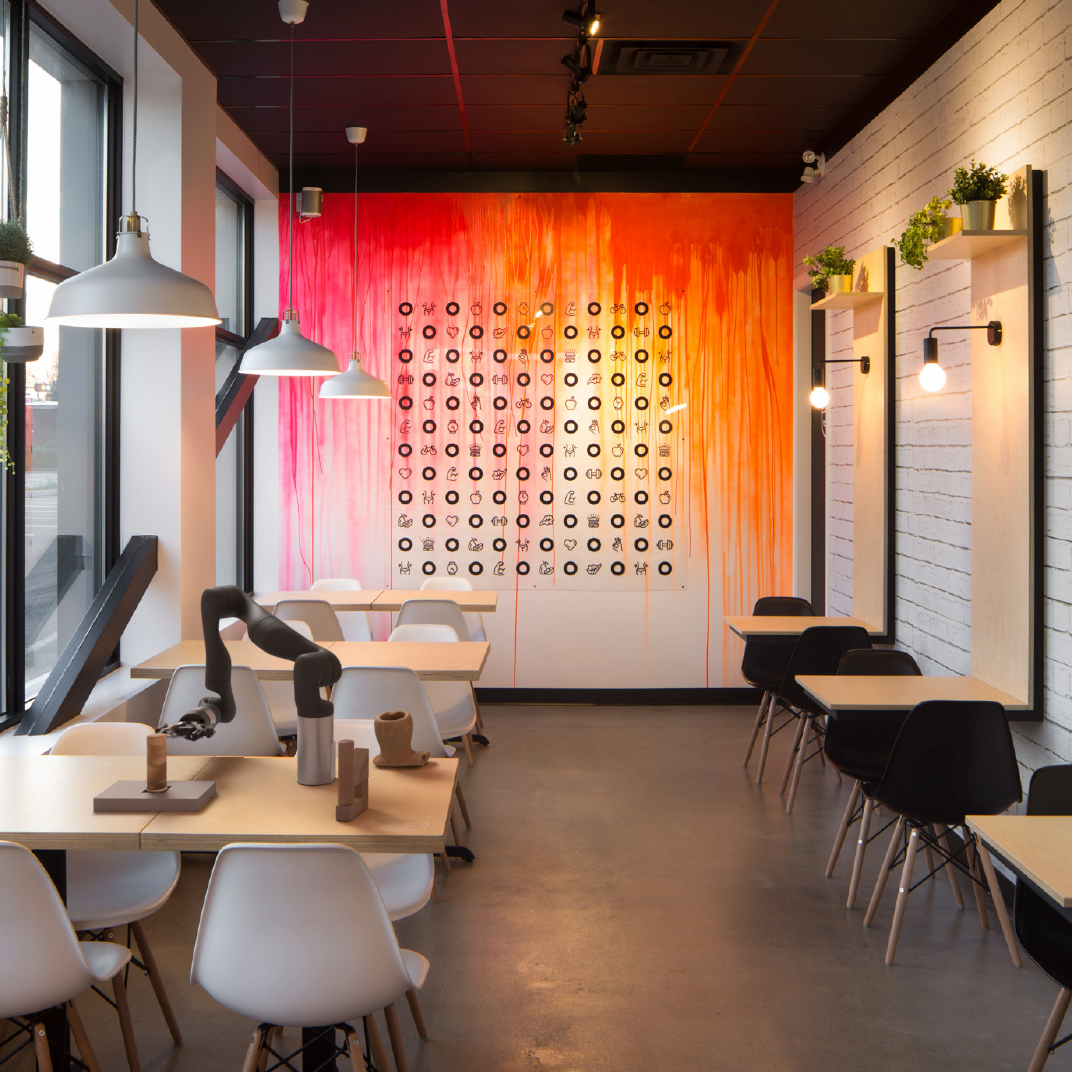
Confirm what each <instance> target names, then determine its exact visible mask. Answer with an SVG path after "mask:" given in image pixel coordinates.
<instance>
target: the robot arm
mask: <svg viewBox="0 0 1072 1072" xmlns="http://www.w3.org/2000/svg"><path fill="white" fill-rule="evenodd" d="M200 614H201V622H202V623H201V625H202V633H203V640H204V641H203V642H204V648H205V649H204V650H205V671H204V673H205V674H204V675H205V676H204V686H205V688H206V690H208V691H209V692H213V693H216V694H217V695H219V697H216V696H205V697H203V698H201V699H200V700H199V702H198V705H197V707H195V708H193V709H191V710H189V711H188V712H186V713H185V714H183V715H182V716H181V717H180V718H179V720H178V722H177V723H174V724H168V723H162V724H161V725H159V726H157V727H155V728H154V734H155V733H164V734H166V739H171V740H174V739H178V738H181V739H185V740H187V741H190V742H193V743H195V742H197V741H198V740H202V739H204V737H205V738H206V739H211V738H212V737H213V736H214V735H215V734H216V732H217V727H216V726H217V725H219V723H220V724H228V723H229V724H230V723H231V722H232V721H233V720H234V719H235V717H236V714H237V704H236V700H235V697H234V693H233V688H232V670H233V669H232V668H233V666H232V658H231V654H230V652H229V650H228V649H227V646H226V645H225V643H224V642H223V639H222V637H221V634H220V621H221V620H222V619H223V620H224V619H230V618H235V619H238V620H240V621H242V622H243V623H245V624H246V632H247V636H248V638H249V640H250V641H251V643H252V644H253V645H255V646H256V647H257V648H259V649H260V650H262V651H263V652H264V653H266V654H268V655H269V656H273V657H276V658H279V659H283V660H285V661H289V662H293V663H294V664H293V673H292V676H293V677H292V678H293V679H292V680H293V694H294V695H293V697H294V703H295V707H296V712H297V720H296V723H297V727H296V728H297V729H296V730H297V732H296V733H297V735H296V736H297V740H296V741H297V745H296V747H297V748H296V750H297V751H296V754H297V756H296V757H297V758H296V759H297V760H296V763H297V765H296V766H297V768H296V769H297V771H296V774H297V779H296V780H297V783H298V784H301V785H306V786H317V785H318V786H319V785H325V783H326V784H332V783H333V782H334V779H335V778H336V777H335V776H337V775H336V772H337V771H336V769H337V767H336V765H337V763H336V761H337V760H336V753H337V750H336V748H337V746H336V745H337V744H336V743H337V742H336V740H335V730H334V729H335V703H333V702H332V701H331V700H327V699H325V698H324V699H323V698H322V697H321V692H320V691H321V690H320V689H321V688H324V687H325V688H327V687H329V686H332V685H334V684H336V683H338V681H339V680H340V679H341V678H342V676H343V675H342V674H343V666H342V663H341V661H340V660H339V658H338V656H337V655H336V654H335V653H333V652H332V651H331V650H329V649H327V648H326V647H323V646H322V645H319V644H317V643H315V642H314V641H312V640H310V639H308V638H307V637H305V636H304V635H302V634H301V633H299V632H298V631H297V630H295V629H294V628H292V627H291V626H289V625H288V624H287V623H286V622H284V621H283V620H281V619H280V618H278V617H277V616H275V615H274V614H272V613H271V612H270V611H268V610H267V609H265V608H264V607H263V606H262V605H259V603H257V602H256V601H255V600H254V599H253V598H252V597H251V596H250V595H249V594H247V592H246V591H244V590H243V589H242V588H241V587H239V586H238V585H233V584H226V585H218V586H217V585H216V586H209V587H207V588H205V589H204V590H203V592H202V594H201V597H200Z"/></svg>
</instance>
